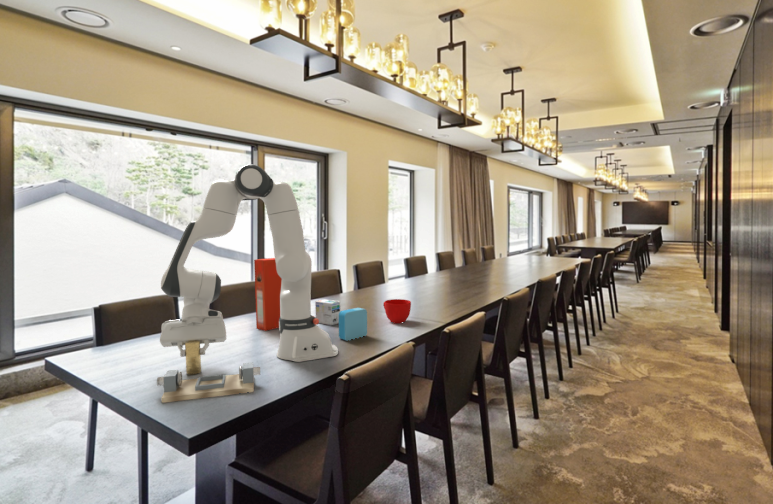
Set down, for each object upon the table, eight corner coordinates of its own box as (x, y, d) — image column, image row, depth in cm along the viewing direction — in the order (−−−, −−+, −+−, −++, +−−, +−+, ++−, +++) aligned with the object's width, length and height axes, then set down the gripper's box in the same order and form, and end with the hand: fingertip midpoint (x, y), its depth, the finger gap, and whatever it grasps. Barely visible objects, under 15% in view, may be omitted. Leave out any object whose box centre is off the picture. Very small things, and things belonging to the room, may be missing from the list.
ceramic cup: (393, 316, 216) (393, 297, 215) (416, 322, 203) (416, 302, 202) (374, 320, 208) (374, 300, 207) (396, 326, 195) (396, 305, 194)
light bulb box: (341, 322, 203) (340, 300, 202) (332, 325, 197) (331, 303, 196) (324, 320, 208) (323, 298, 207) (315, 322, 203) (314, 300, 202)
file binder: (256, 328, 193) (254, 259, 190) (287, 321, 206) (285, 256, 203) (266, 331, 187) (264, 260, 185) (297, 323, 200) (296, 257, 198)
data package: (360, 334, 182) (360, 307, 182) (367, 336, 179) (367, 308, 178) (338, 339, 174) (338, 311, 173) (345, 341, 171) (345, 312, 170)
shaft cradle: (260, 376, 133) (259, 358, 133) (260, 391, 122) (260, 371, 121) (163, 387, 125) (162, 367, 124) (153, 403, 113) (152, 382, 113)
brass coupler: (201, 368, 139) (200, 339, 138) (200, 373, 135) (198, 343, 134) (187, 370, 138) (186, 340, 137) (185, 375, 134) (183, 344, 133)
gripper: (160, 315, 139) (155, 353, 130) (226, 311, 145) (225, 347, 136) (164, 325, 143) (159, 362, 135) (227, 321, 149) (226, 356, 141)
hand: (192, 355), depth 135 cm, fingers closed on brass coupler, 4 cm apart
